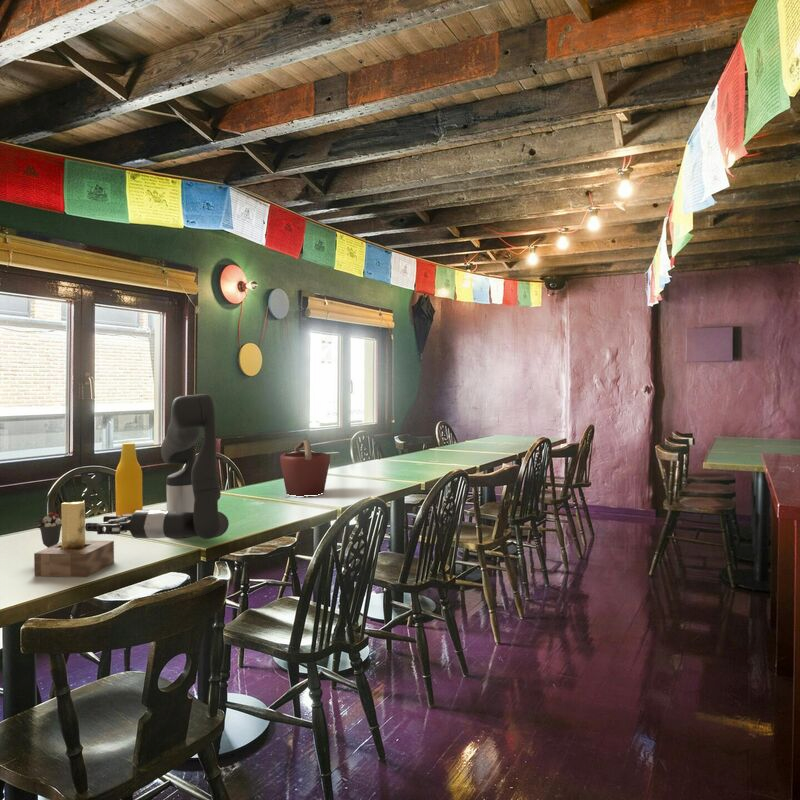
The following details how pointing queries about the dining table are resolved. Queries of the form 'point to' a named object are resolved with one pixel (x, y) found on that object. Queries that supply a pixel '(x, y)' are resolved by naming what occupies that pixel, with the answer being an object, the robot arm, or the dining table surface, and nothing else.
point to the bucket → (304, 470)
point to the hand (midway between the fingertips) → (95, 523)
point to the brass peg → (73, 525)
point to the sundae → (50, 529)
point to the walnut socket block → (74, 559)
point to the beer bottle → (128, 482)
